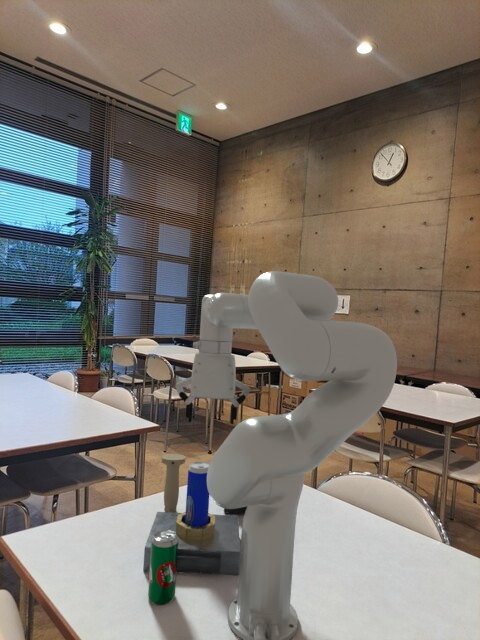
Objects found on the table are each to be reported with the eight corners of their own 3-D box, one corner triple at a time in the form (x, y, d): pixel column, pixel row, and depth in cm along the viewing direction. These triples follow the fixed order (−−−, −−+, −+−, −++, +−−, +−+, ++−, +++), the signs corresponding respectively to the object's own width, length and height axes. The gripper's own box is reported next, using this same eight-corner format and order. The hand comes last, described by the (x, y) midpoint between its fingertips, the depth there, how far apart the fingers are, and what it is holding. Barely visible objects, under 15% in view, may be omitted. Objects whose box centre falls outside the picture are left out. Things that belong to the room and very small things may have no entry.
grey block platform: (238, 578, 89) (240, 543, 89) (142, 574, 88) (144, 538, 88) (237, 535, 106) (238, 505, 106) (156, 531, 105) (157, 501, 105)
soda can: (153, 587, 84) (157, 527, 84) (178, 591, 84) (181, 530, 83) (143, 604, 79) (147, 540, 79) (170, 608, 79) (173, 544, 78)
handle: (181, 515, 114) (185, 460, 114) (157, 515, 114) (161, 459, 113) (182, 507, 119) (185, 454, 119) (159, 507, 118) (162, 453, 118)
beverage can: (182, 525, 99) (186, 461, 99) (203, 523, 101) (207, 460, 101) (187, 537, 94) (191, 469, 94) (209, 534, 96) (214, 468, 96)
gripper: (176, 347, 94) (171, 424, 95) (254, 351, 96) (249, 427, 96) (179, 344, 102) (174, 416, 102) (251, 348, 103) (246, 419, 103)
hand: (210, 421), depth 99 cm, fingers open, 9 cm apart
